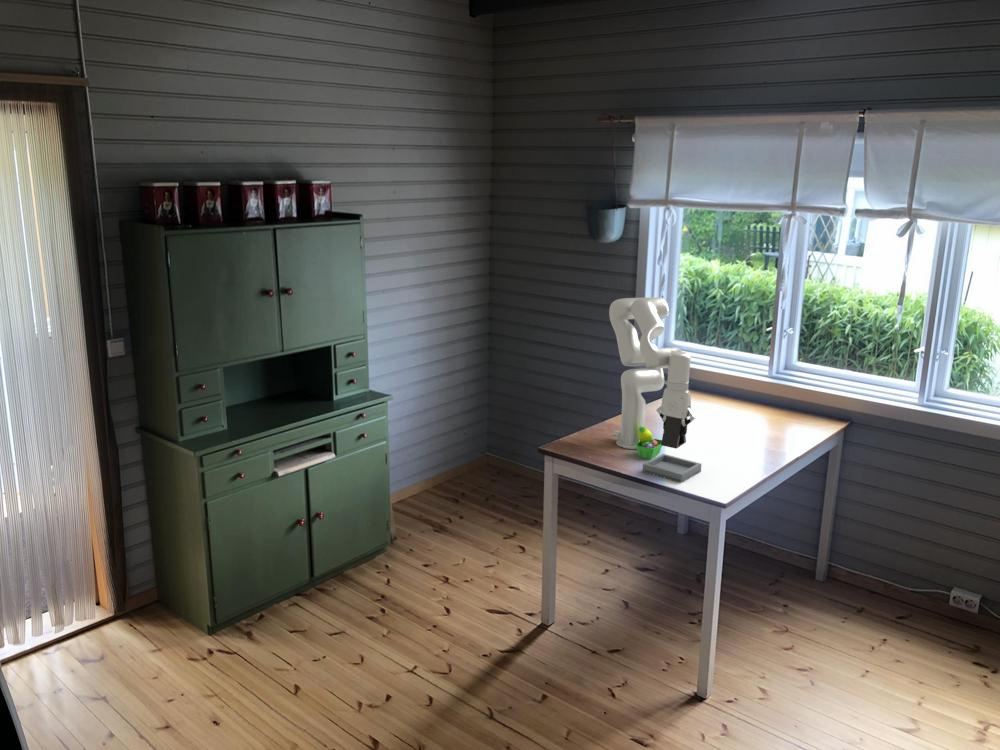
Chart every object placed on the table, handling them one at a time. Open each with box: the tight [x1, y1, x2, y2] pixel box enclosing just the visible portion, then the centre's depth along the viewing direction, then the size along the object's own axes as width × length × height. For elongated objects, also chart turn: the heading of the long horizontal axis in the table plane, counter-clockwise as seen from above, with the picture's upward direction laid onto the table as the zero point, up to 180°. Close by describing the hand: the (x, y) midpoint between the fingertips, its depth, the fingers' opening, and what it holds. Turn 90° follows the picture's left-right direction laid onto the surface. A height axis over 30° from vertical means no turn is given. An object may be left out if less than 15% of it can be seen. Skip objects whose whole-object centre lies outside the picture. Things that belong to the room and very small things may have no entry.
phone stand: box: [661, 416, 687, 449], centre depth 293 cm, size 9×6×12 cm, turn 145°
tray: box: [642, 453, 702, 483], centre depth 297 cm, size 16×15×3 cm
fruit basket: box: [636, 426, 663, 460], centre depth 313 cm, size 11×9×11 cm
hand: (674, 433), depth 294 cm, fingers closed on phone stand, 6 cm apart
